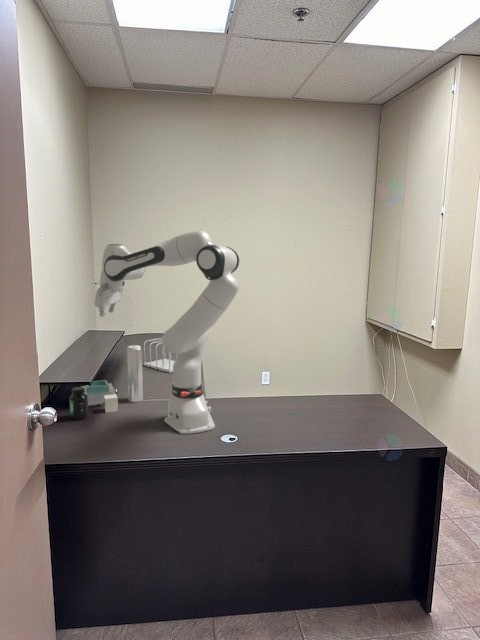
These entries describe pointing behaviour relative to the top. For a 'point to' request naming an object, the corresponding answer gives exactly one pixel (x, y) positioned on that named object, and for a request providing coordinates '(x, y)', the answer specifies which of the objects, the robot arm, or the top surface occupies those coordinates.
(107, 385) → the motor housing
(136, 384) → the silver metal cylinder
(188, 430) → the robot arm
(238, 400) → the top surface
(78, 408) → the supplement bottle
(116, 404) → the pump block
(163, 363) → the file sorter
